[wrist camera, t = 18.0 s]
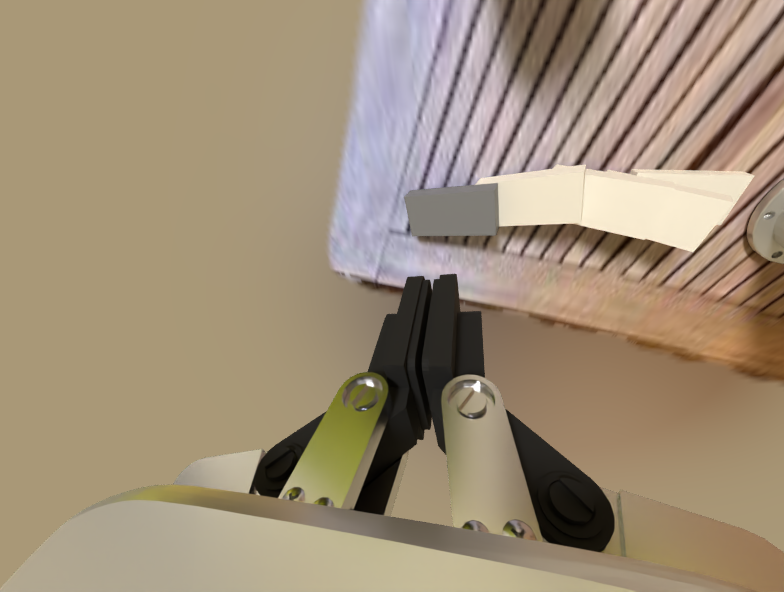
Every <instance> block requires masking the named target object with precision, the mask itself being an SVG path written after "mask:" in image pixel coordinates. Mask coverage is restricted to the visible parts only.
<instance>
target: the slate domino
mask: <svg viewBox="0 0 784 592" xmlns="http://www.w3.org/2000/svg"><path fill="white" fill-rule="evenodd" d="M404 199H405V203H406V208H407V213H408V218H409V223H410V228H411V232H412V236H484V235H496V234H497V231H498V229H499V203H498V183H491V184H480V185H468V186H457V187H445V188H434V189H422V190H411V191H410V192H409V193H408V194H407V195H406V196H405V197H404Z"/></svg>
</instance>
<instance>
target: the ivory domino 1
mask: <svg viewBox="0 0 784 592" xmlns="http://www.w3.org/2000/svg"><path fill="white" fill-rule="evenodd" d="M585 170H586V165H578V166H570V167H563V168H555V169H548V170H540V171H532V172H525V173H517V174H510V175H502V176H494V177H487V178H481V179H480V180H479V181H478V182H477V183H476V184H475V185H480V184H491V183H498V203H499V226H521V225H546V224H571V223H581V219H582V214H583V200H584V185H585Z"/></svg>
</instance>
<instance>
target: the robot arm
mask: <svg viewBox="0 0 784 592" xmlns="http://www.w3.org/2000/svg"><path fill="white" fill-rule="evenodd" d="M747 239H748V243H749V245H750V246H751V248H752V249H753V250H754V251H755V252H756V253H758V254H759V255H760V256H762V257H764V258H765V259H767V260H769V261H772V262H776V263H780V264H784V179H783V180H782V181H780V182H779V183H778V184H777V185H776V186H775V187H774V188H773V189H772V190H771V191H769V192H768V193H767V195H766V196H765V197H764V198H763V199H762V201H761V202H760V203H759V204H758V206H757V207H756V209H755V211H754V212H753V214H752V215H751V218H750V221H749V224H748V227H747ZM432 419H433V424H434V428H435V432H436V437H437V442H438V446H439V447H440V449H441V450H442V451H443V452H444V453H445V454H446V457H447V468H448V478H449V488H450V499H451V510H452V520H453V527H450V526H444V525H439V524H432V523H426V522H420V521H414V520H408V519H402V518H396V517H390V516H391V513H392V510H393V506H394V503H395V499H396V496H397V493H398V490H399V486H400V483H401V480H402V476H403V473H404V470H405V466H406V463H407V460H408V453H409V450H410V449H411V448H412V447H413V446H414V445H416V444H417V439H419V440H423V438H424V430H425V429H428V430H430V428H431V420H432ZM0 592H784V553H783V552H782V551H781V550H780V549H778V548H777V547H775V546H774V545H773V544H771V543H770V542H768V541H767V540H765V539H764V538H762V537H760V536H758V535H756V534H754V533H751V532H749V531H747V530H745V529H742V528H739V527H736V526H733V525H730V524H727V523H724V522H720V521H717V520H714V519H711V518H708V517H705V516H702V515H698V514H695V513H692V512H689V511H686V510H683V509H680V508H677V507H674V506H670V505H667V504H664V503H661V502H658V501H655V500H652V499H649V498H645V497H642V496H639V495H636V494H633V493H630V492H627V491H624V490H620V491H619V492H618V493H617V492H614V491H611V490H608V489H604V488H601V487H599V486H598V485H597V484H596V483H595V482H594V481H593V480H592V479H591V478H590V477H588V476H587V475H586V474H584V473H583V472H582V471H581V470H579V469H578V468H577V467H576V466H575V465H574V464H572V463H571V462H570V461H569V460H567V459H566V458H565V457H564V456H563V455H561V454H560V453H559V452H558V451H556V450H555V449H554V448H553V447H552V446H550V445H549V444H548V443H547V442H545V441H544V440H543V439H542V438H541V437H539V436H538V435H537V434H536V433H534V432H533V431H532V430H531V429H529V428H528V427H527V426H526V425H525V424H523V423H522V422H521V421H520V420H519V419H517V418H516V417H515V416H514V415H512V414H511V413H510V412H509V411H507V410H506V409H505V407H504V403H503V400H502V396H501V394H500V392H499V390H498V388H497V387H496V386H495V385H494V384H493V383H492V382H491V381H489V380H487V379H486V378H485V373H484V354H483V338H482V318H481V311H472V312H460V304H459V293H458V282H457V274H447V275H440V279H434V283H433V290H432V288H431V282H430V280H425V278H424V276H415V277H408V278H407V280H406V284H405V287H404V291H403V294H402V298H401V302H400V306H399V309H398V312H397V314H387V315H386V318H385V320H384V323H383V326H382V329H381V332H380V335H379V339H378V341H377V345H376V348H375V351H374V354H373V357H372V360H371V363H370V366H369V369H368V372H363V373H359V374H356V375H354V376H352V377H350V378H349V379H348V380H346V381H345V382H344V384H343V385H342V386H341V387H340V389H339V390H338V392H337V394H336V396H335V398H334V399H333V401H332V403H331V405H330V406H329V408H328V410H327V411H326V412H325V413H323V414H322V415H320V416H319V417H317V418H316V419H314V420H313V421H311V422H310V423H308V424H307V425H305V426H304V427H302V428H301V429H299V430H297V431H296V432H294V433H293V434H292V435H290V436H289V437H287V438H285V439H284V440H282V441H281V442H280V443H278V444H276V445H275V446H274V447H273V448H271V449H270V450H269V451H267V452H265V451H264V450H263V449H258V450H252V451H246V452H239V453H232V454H226V455H220V456H213V457H207V458H202V459H200V460H197V461H195V462H193V463H192V464H190V465H189V466H187V467H186V468H185V469H184V470H183V471H182V472H181V473H180V474H179V476H178V477H177V479H176V480H175V482H174V483H173V485H154V486H148V487H142V488H138V489H134V490H130V491H127V492H124V493H121V494H118V495H115V496H112V497H109V498H107V499H105V500H102V501H100V502H98V503H96V504H94V505H92V506H90V507H88V508H86V509H84V510H82V511H81V512H79V513H78V514H76V515H75V516H73V517H72V518H70V519H69V520H68V521H67V522H65V523H64V524H63V525H62V526H61V527H60V528H58V529H57V530H56V531H55V532H54V533H53V534H52V535H51V536H50V537H49V538H48V539H47V540H46V541H45V542H44V543H43V544H42V545H41V546H40V547H39V548H38V549H37V550H36V551H35V552H34V553H33V554H32V555H31V556H30V557H29V558H28V559H27V560H26V561H25V562H24V563H23V565H22V566H21V567H20V568H19V569H18V570H17V571H16V572H15V573H14V574H13V575H12V576H11V577H10V578H9V579H8V580H7V582H6V583H5V584H4V585H3V586H2V587H1V588H0Z"/></svg>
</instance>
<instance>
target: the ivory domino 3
mask: <svg viewBox="0 0 784 592" xmlns="http://www.w3.org/2000/svg"><path fill="white" fill-rule="evenodd" d="M607 172H611V173H617V174H624V175H631V174H626V173H622V172H617V171H612V170H607ZM631 176H636V175H631ZM638 177H640V176H638ZM644 178H645V177H644ZM674 186H675V189H674V190H673V192H672V194H671V196H670V197H669V199H668V201H667V202H666V204H665V206H664V208H663V209H662V211H661V213H660V214H659V216H658V218H657V220H656V221H655V223H654V225H653V226H652V228H651V230H650V232H649V233H648V235H647V237H646V238H645V239H648V240H652V241H655V242H659V243H662V244H666V245H669V246H673V247H677V248H680V249H684V250H687V251H691V252H694V251H695V249H696V248H697V247H698V246H699V244H700V243H701V242H702V241H703V240H704V238H705V237H706V236H707V235H708V234H709V232H710V231H711V230H712V229H713V228H714V226H715V225H716V224H717V223H718V222H719V220H720V219H721V218H722V217H723V216H724V214H725V213H726V212H727V211H728V210H729V208H730V207H731V206H732V205H733V204H734V201H733V199H732V198H731V196H729V195H725V194H720V193H715V192H711V191H706V190H701V189H697V188H692V187H687V186H683V185H678V184H674Z"/></svg>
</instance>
